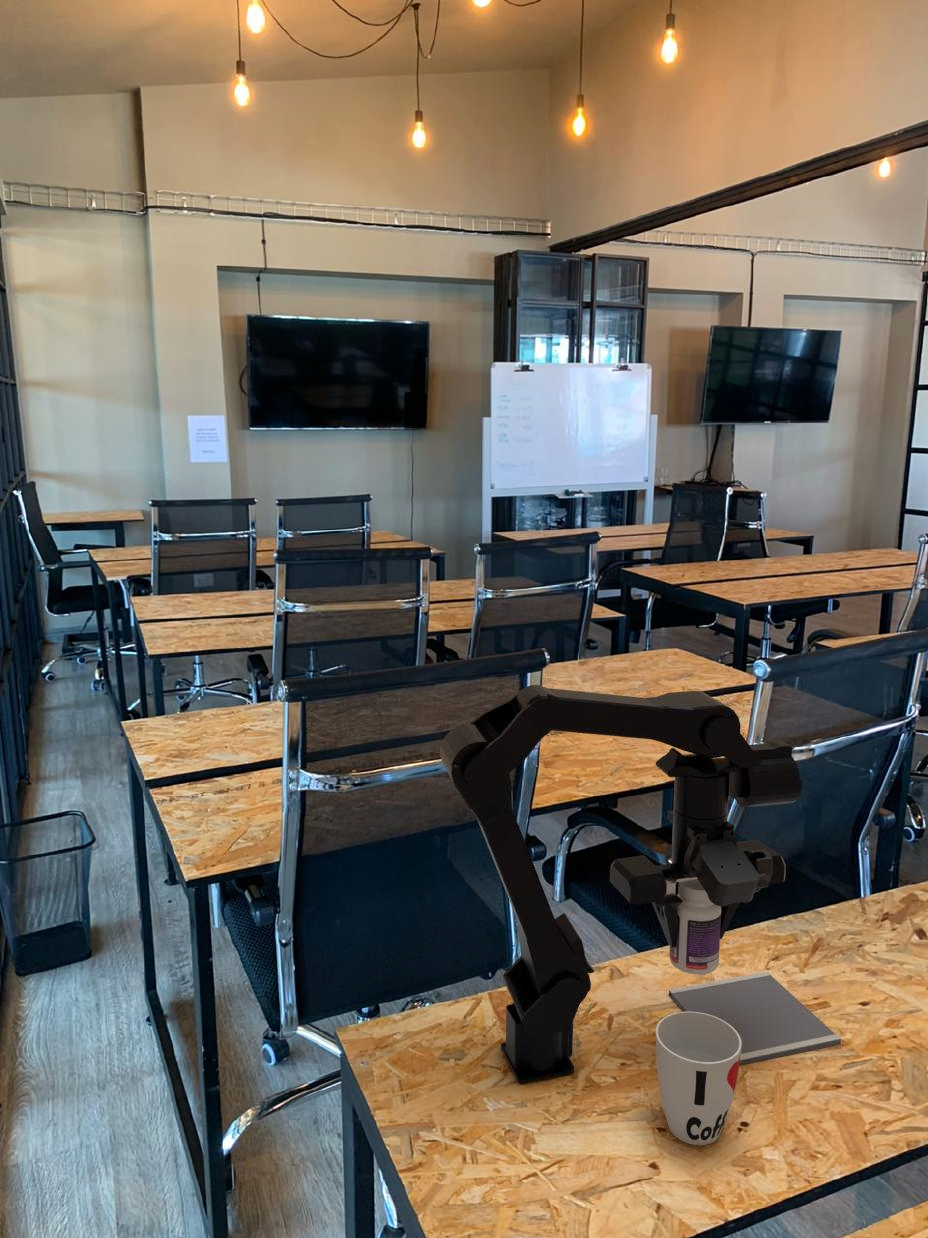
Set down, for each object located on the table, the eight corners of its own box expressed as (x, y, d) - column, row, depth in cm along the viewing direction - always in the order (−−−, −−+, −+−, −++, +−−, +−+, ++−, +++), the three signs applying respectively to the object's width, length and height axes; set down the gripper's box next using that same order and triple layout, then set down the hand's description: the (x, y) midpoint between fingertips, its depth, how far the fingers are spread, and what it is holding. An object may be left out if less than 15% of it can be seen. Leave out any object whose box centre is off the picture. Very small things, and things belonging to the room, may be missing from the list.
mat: (731, 1067, 101) (732, 1061, 101) (668, 994, 114) (668, 989, 114) (840, 1044, 105) (841, 1038, 104) (767, 976, 118) (767, 971, 118)
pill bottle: (726, 961, 104) (731, 880, 102) (705, 982, 100) (709, 898, 98) (682, 944, 107) (686, 866, 105) (660, 964, 103) (663, 883, 101)
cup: (684, 1167, 87) (689, 1073, 85) (636, 1111, 94) (639, 1023, 92) (753, 1142, 90) (759, 1050, 88) (701, 1089, 97) (705, 1003, 95)
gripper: (657, 851, 90) (652, 996, 93) (822, 828, 95) (812, 967, 98) (609, 808, 100) (606, 940, 103) (759, 790, 105) (752, 916, 108)
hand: (694, 941), depth 103 cm, fingers closed on pill bottle, 5 cm apart
